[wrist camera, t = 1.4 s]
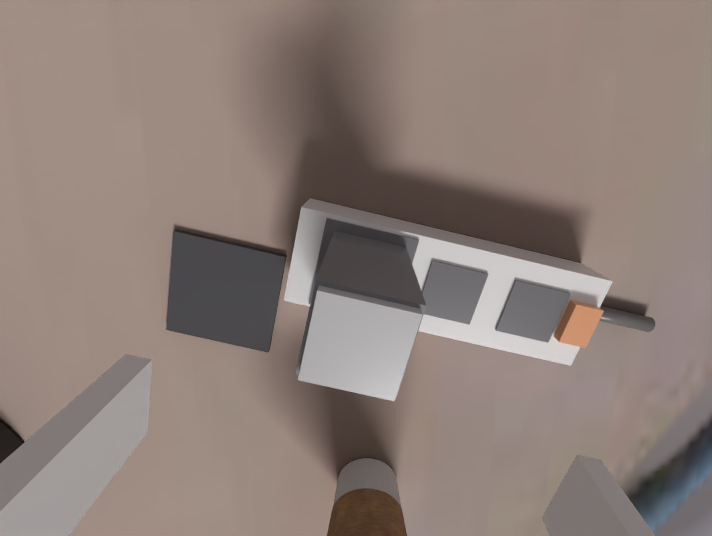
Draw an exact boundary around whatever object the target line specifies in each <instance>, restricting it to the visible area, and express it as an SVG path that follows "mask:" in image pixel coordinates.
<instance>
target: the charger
mask: <svg viewBox="0 0 712 536" xmlns="http://www.w3.org/2000/svg"><path fill="white" fill-rule="evenodd" d="M425 309H426V303H425V300H424V297H423V294H422V291H421V288H420V286H419V283H418V280H417V277H416V274H415V271H414V268H413V265H412V262H411V260H410V257H409V254H408V251H407V248H406V247H402V246H397V245H393V244H389V243H385V242H381V241H376V240H372V239H368V238H364V237H359V236H355V235H351V234H347V233H343V232H338V231H334V233H333V236H332V238H331V241H330V244H329V246H328V249H327V251H326V254H325V257H324V259H323V262H322V264H321V267H320V270H319V272H318V275H317V277H316V280H315V285H314V289H313V294H312V299H311V303H310V308H309V313H308V318H307V322H306V327H305V332H304V336H303V341H302V346H301V350H300V355H299V360H298V365H297V369H296V374H295V375H297V376H299V377H298V380H299V381H304V382H308V383H313V384H317V385H322V386H327V387H331V388H336V389H340V390H345V391H350V392H354V393H359V394H363V395H368V396H373V397H377V398H382V399H386V400H391V401H395V398H396V397H397V394H398V391H399V388H400V385H401V382H402V379H403V376H404V373H405V370H406V367H407V364H408V361H409V358H410V355H411V352H412V348H413V345H414V342H415V339H416V336H417V333H418V330H419V327H420V324H421V321H422V318H423V315H424V312H425Z"/></svg>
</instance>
